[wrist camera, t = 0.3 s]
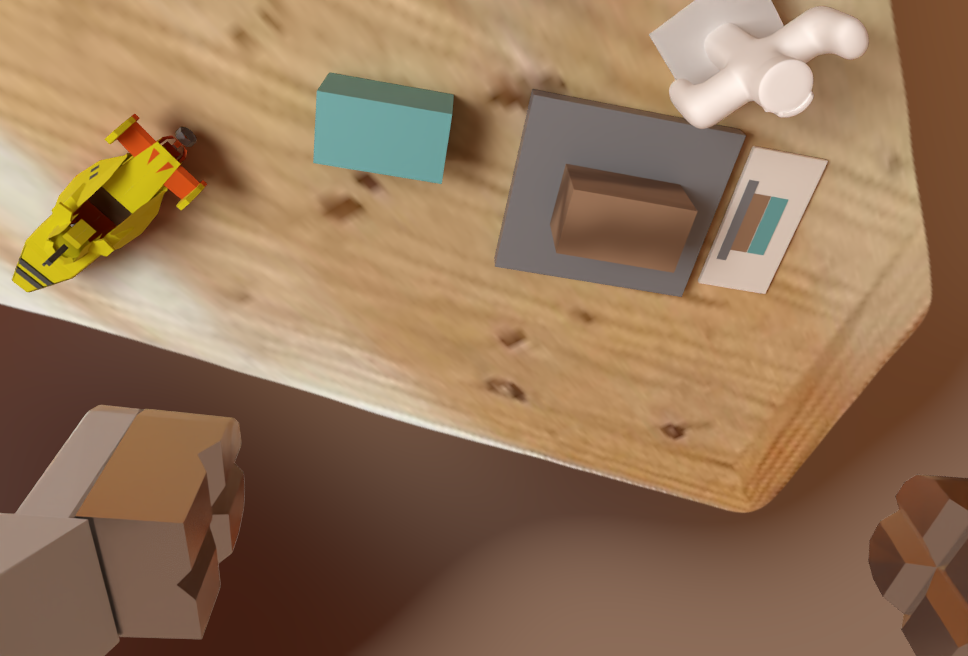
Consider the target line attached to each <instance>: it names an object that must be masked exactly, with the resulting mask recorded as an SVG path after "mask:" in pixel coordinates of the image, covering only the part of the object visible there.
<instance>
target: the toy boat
mask: <svg viewBox="0 0 968 656" xmlns="http://www.w3.org/2000/svg"><path fill="white" fill-rule="evenodd" d="M138 119H139V117H138V116H137V115H136V114H134V115H132V116H131V117H130V118H128V119H127V120H126V121H125V122H124V123H122V124H121V125H120V126H119V127H118V128H116V129H115V130H114V131H113V132H112V133H111V134H110V135H109V136H108V137H107V138H106V139H105V140H106V141H107V142H108V143H109V144H111V143H113V142H114V141H115V140H118V141H119V142H120V143H121V144H122V145H123V146H124V147H125V148H126V149H127V150H128V152H129V153H127V154H126V155H124V156H119V157H114V158H110V159H105V160H100V161H98V162H97V163H95V164H94V165H92V166H91V167H89V168H87V169H86V170H84V171H83V172H81V173H79V174H78V175H76V176H75V178H74V179H73V180H72V181H71V182H70V184H69V185H68V186H67V187H66V188H65V189H64V191H63V192H62V193H61V194H60V195H59V197H58V200H57V203H56V205H55V207H54V208H53V209H52V212H53V213H52V215H51V216H50V217H49V218H48V219H46V220H45V221H44V222H43V223H42V224H41V225H40V226H39V227H38V228H37V229H36V230H35V231H34V232H33V233H32V235H31V236H30V237H29V238H28V239H27V240H26V242H25V245H24V247H23V250H22V253H21V256H20V258H19V261H18V264H17V266H16V269H15V272H14V275H13V278H12V281H13V282H14V283H16V284H17V285H18V286H20V287H21V288H22V289H23V290H25V291H26V292H32V291H35V290H39V289H42V288H44V287H47V286H51V285H55V284H57V283H60V282H63V281H66V280H69V279H72V278H74V277H75V276H76V275H77V274H79V273H80V272H81V271H82V270H84V269H85V268H86V267H87V266H89V265H90V264H91V263H92V262H93V261H95V260H96V259H97V258H98V257H99V256H101V255H103V256H106V257H107V256H108V255H109V254H110V253H111V252H113V251H114V250H116V249H119V248H121V247H123V246H124V245H126V244H127V243H129V242H130V241H132V240H133V239H134V238H136V237H137V236H139V235H140V234H142V233H143V231H144V230H145V229H146V228H147V226H148V225H149V224H150V223H151V221H152V220H153V219H154V218H155V216H156V215H157V214H158V212H159V208H160V205H161V202H162V198H163V195H164V193H165V192H166V191H167V188H168V189H169V190H170V191H171V192H173V193H174V194H175V195H176V196H178V197H179V198H180V199H181V200H180V201H179V202H178V204H177V205H176V206H177V207H178V208H179V209H180V210H182V209H184V208H185V207H186V206H187V205H188V204H189V203H190V202H191V201H192V200H193V199H194V198H195V197H196V196H197V195H198V194H199V193H200V192H201V191H202V190H203V189H204V188H205V187H206V185H207V183H206V182H205V181H204V180H203V181H201V182H200V183H199V182H198V181H197V180H196V179H195V178H194V177H193V176H192V175H191V174H190V173H189V172H188V171H186V170H185V169H184V168H183V167H182V166H181V164H182V162H183V161H184V160H185V159H186V154H187V150H186V148H185V147H184V146H183V145H185V146H186V147H191V146H192V145H194V144H195V143H196V137H195V135H194V134H193V132H192V131H191V130H189V129H188V128H186V127H180V128H179V129H178V130H177V131H176V137H177V139H178V140H177V139H176V138H175V139H176V140H177V141H176V142H175V143H174V144H173V145H171V144H170V143H169V142H168V141H167V142H166V143H165V144H163V145H162V146H161V145H160V143H162V142H163V141H165V140H166V139H172V138H174V137H173V136H166V137H162V138H160V139H159V140H157V141H155V140H154V139H153V138H152V137H151V136H150V135H149V134H148V133H147V132H146V131H145V130H144V129H143V128H142V127H141V126H140V125H139V124H138V123H137V122H136V121H137V120H138ZM182 133H183V134H185V135H186V136H187V137H188V139H189V140H190V141H189V140H188V139H187V138H186V137H185V136H184V135H183V134H182ZM182 144H183V145H182ZM181 145H182V146H183V147H184V152H183V156H182V157H181V158H180V159H179V160H178V161H177V160H176V158H177V157H178V156H179V155H180V153H179V152H178V151H177V149H178V148H179V147H180V146H181ZM101 186H102V187H103V188H104V189H105V190H106V191H107V192H109V193H110V194H111V195H112V196H113V197H114V198H115V199H116V200H118V201H119V202H120V203H121V204H122V205H123V206H124V207H125V208H126V209H128V210H129V211H130V212H131V213H132V214H131V215H130V216H129V217H128V218H127V219H126V220H124V221H123V222H122V223H121V224H119V225H118V226H116V225H115V224H114V223H113V222H112V221H111V220H110V219H109V218H107V217H106V216H105V215H104V214H103V213H102V212H101V211H99V210H98V209H97V208H96V207H95V206H94V205H93V204H91V203H90V202H89V201H88V200H87V199H88V198H89V197H90V196H92V195H93V194H94V193H95V192H96V191H97V190H98V189H99V188H100V187H101ZM110 207H111V206H110ZM75 223H76V224H75ZM71 224H75V225H74V226H73V227H71V226H70V225H71Z"/></svg>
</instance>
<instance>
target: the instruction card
mask: <svg viewBox="0 0 968 656" xmlns="http://www.w3.org/2000/svg"><path fill="white" fill-rule="evenodd" d="M827 162H828V161H827V160H826V159H821V158H815V157H810V156H805V155H800V154H795V153H789V152H784V151H779V150H774V149H768V148H763V147H758V146H753V147H752V149H751V152H750V154H749V156H748V159H747V161H746V164H745V166H744V169H743V171H742V174H741V176H740V179H739V181H738V183H737V186H736V188H735V191H734V193H733V196H732V198H731V201H730V203H729V205H728V208H727V210H726V213H725V215H724V218H723V220H722V223H721V225H720V227H719V230H718V232H717V235H716V237H715V240H714V242H713V245H712V247H711V250H710V252H709V254H708V257H707V259H706V262H705V264H704V267H703V269H702V272H701V274H700V276H699V279H698V282H699V283H702V284H708V285H714V286H720V287H726V288H732V289H738V290H744V291H750V292H756V293H763V294H765V293H766V291H767V289H768V287H769V285H770V283H771V281H772V279H773V276H774V274H775V272H776V270H777V268H778V266H779V264H780V262H781V260H782V257H783V255H784V253H785V251H786V249H787V247H788V245H789V243H790V241H791V238H792V236H793V234H794V232H795V230H796V228H797V226H798V224H799V222H800V219H801V217H802V215H803V213H804V211H805V209H806V207H807V205H808V203H809V200H810V198H811V196H812V194H813V192H814V190H815V188H816V186H817V184H818V181H819V179H820V177H821V175H822V173H823V171H824V169H825V167H826V165H827Z"/></svg>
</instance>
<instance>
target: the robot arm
mask: <svg viewBox="0 0 968 656" xmlns="http://www.w3.org/2000/svg"><path fill="white" fill-rule="evenodd" d="M240 447H241V437H240V429H239V423H238V421H236V420H235V419H234V418H229V417H219V416H210V415H201V414H191V413H182V412H172V411H163V410H152V409H145V410H142V409H135V408H126V407H116V406H107V405H99V406H97V407H95V408H93V409H92V410H90V411H88V412H87V413H86V415H85V416H84V418H83V419H82V420H81V422H80V423H79V424H78V426H77V427H76V429H75V430H74V431H73V433H72V434H71V436H70V437H69V439H68V440H67V441H66V443H65V444H64V446H63V447H62V448H61V450H60V451H59V453H58V454H57V455H56V457H55V458H54V460H53V461H52V462H51V464H50V465H49V467H48V468H47V469H46V471H45V472H44V474H43V475H42V477H41V478H40V479H39V481H38V482H37V484H36V485H35V486H34V488H33V489H32V490H31V492H30V493H29V495H28V496H27V498H26V499H25V500H24V502H23V503H22V505H21V506H20V507H19V509H18V510H17V512H16V513H15V514H5V513H0V656H104V655H106V654H107V653H108V652H109V651H110V650H111V649H112V648H113V647H114V646H115V645H116V644H117V643H118V642H119V637H146V638H178V639H202V637H203V634H204V631H205V628H206V626H207V623H208V620H209V617H210V614H211V611H212V609H213V606H214V603H215V600H216V597H217V595H218V592H219V589H220V586H221V585H220V576H219V567H218V563H220V562H221V561H222V560H224V559H225V558H226V557H227V556H229V555H230V554H231V553H232V551H233V548H234V546H235V542H236V540H237V537H238V533H239V529H240V524H241V519H242V514H243V509H244V495H245V483H244V472H243V471H242V470H241V469H240V468H239V467H238V466H237V465H236V464H235V463H234V462H235V460H236V457H237V455H238V452H239V449H240ZM895 497H896V501H897V504H898V507H899V510H898V511H896V512H894V513H893V514H891V515H890V516H888V517H886V518H885V519H883V520H881V521H880V522H879V524H878V525H877V527H876V529H875V531H874V533H873V535H872V537H871V538H870V541H869V559H868V561H869V565H870V569H871V573H872V577H873V580H874V581H875V583H876V585H877V587H878V589H879V591H880V593H881V594H882V596H883V597H884V598H885V599H886V600H887V601H889V602H890V603H891V604H892V605H894V606H895V607H896V608H897V609H898V610H900V611H901V612H902V613H903V614H904V616H903V623H902V628H901V630H902V632H903V633H904V635H905V637H906V639H907V640H908V642H909V644H910V646H911V648H912V649H913V651H914V653H915V654H916V656H968V478H958V477H946V476H931V475H918V474H917V475H915V476H914V477H912V478H910V479H909V480H907V481H905V482H904V484H903V485H902V487H901V488H900V490H899V491H898V493H897V494H896V496H895Z"/></svg>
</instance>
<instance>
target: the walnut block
mask: <svg viewBox="0 0 968 656" xmlns="http://www.w3.org/2000/svg"><path fill="white" fill-rule="evenodd" d="M697 212H698V211H697V210H696V208H695V207H694V205H693V204H692V202H691V201H690V199H689V197H688V196H687V194H686V193H685V191H684V190H683V188H682V187H681V185H680V184H675V183H669V182H664V181H658V180H653V179H647V178H642V177H636V176H631V175H625V174H620V173H614V172H609V171H603V170H598V169H592V168H587V167H581V166H576V165H570V164H566V165H565V169H564V172H563V176H562V180H561V184H560V187H559V191H558V195H557V199H556V203H555V206H554V210H553V214H552V218H551V222H550V227H551V231H552V236H553V241H554V245H555V250H556V253H558V254H564V255H570V256H576V257H582V258H588V259H594V260H600V261H606V262H612V263H618V264H624V265H630V266H636V267H642V268H648V269H654V270H660V271H666V272H672V273H674V271H675V269H676V266H677V264H678V261H679V258H680V256H681V253H682V251H683V248H684V245H685V243H686V240H687V238H688V235H689V232H690V230H691V227H692V225H693V222H694V219H695V217H696V214H697Z"/></svg>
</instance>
